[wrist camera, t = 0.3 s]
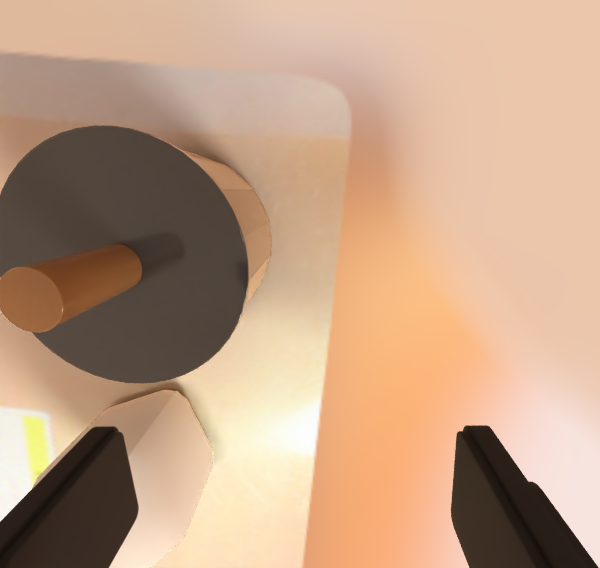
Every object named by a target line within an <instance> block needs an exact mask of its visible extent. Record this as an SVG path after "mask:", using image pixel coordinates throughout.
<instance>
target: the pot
mask: <svg viewBox="0 0 600 568" xmlns="http://www.w3.org/2000/svg"><path fill="white" fill-rule="evenodd" d="M182 151H184V150H182ZM184 152H186V153H187V154H188V155H190V156H191V157H192V158H193V159H195V160H196V161H197V162H198V163H200V164H201V165H202V166H203V167H204V168H205V169H206V170H207V171H208V172H209V173H210V174H211V175H212V176H213V177H214V178H215V179H216V181H217V182H218V183H219V185H220V186H221V187H222V189H223V190H224V191H225V193H226V194H227V196H228V197H229V199H230V201H231V203H232V204H233V206H234V208H235V210H236V212H237V214H238V216H239V219H240V221H241V223H242V226H243V229H244V232H245V236H246V239H247V243H248V249H249V255H250V270H251V279H250V287H249V295H248V298H247V302H246V304H247V303H248V301H249V300H250V298H251V297H252V295H253V294H254V292H255V291H256V290H257V288H258V287H259V285H260V284H261V282H262V279H263V276H264V274H265V271H266V269H267V266H268V262H269V259H270V256H271V231H270V225H269V219H268V217H267V214H266V212H265V209H264V207H263V204H262V203H261V201H260V199H259V197H258V196H257V194H256V192H255V191H254V189H253V188H252V187H251V186H250V185H249V184H248V183H247V182H246V181H245V180H244V179H243V178H242V177H241V176H240V175H238V174H237V173H236V172H235V171H233V170H232V169H231V168H230V167H229V166H227V165H224V164H222V163H219V162H216V161H214V160H211V159H208V158H206V157H203V156H200V155H198V154H194V153H191V152H187V151H184Z"/></svg>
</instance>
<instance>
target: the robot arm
mask: <svg viewBox="0 0 600 568" xmlns="http://www.w3.org/2000/svg"><path fill="white" fill-rule="evenodd" d="M138 510H139V506H138V501H137V496H136V491H135V487H134V482H133V477H132V473H131V468H130V463H129V459H128V454H127V449H126V445H125V440H124V436H123V434H122V432H119V431H118V429H117V428H116V427H114V426H96V427H93V428H91V429H90V430H89V431H88V432H87V433H86V434H85V435H84V436H83V437H82V438H81V439H80V440H79V441H78V442H77V444H76V445H75V446H74V447H73V448H72V449H71V450H70V451H69V452H68V453H67V454H66V455H65V456H64V457H63V458H62V459H61V460H60V461H59V462H58V463H57V464H56V465H55V466H54V467H53V468H52V469H51V470H50V471H49V472H48V473H47V474H46V475H45V476H44V477H43V478H42V480H41V481H40V482H39V483H38V484H37V485H36V486H35V487H34V488H33V489H32V490H31V491H30V492H29V493H28V494H27V495H26V496H25V497H24V498H23V499H22V500H21V501H20V502H19V503H18V504H17V505H16V506H15V507H14V508H13V509H12V510H11V511H10V512H9V513H8V515H7V516H6V517H5V518H4V519H3V520H2V521H1V522H0V568H109V567H110V565H111V563H112V562H113V560H114V558H115V556H116V554H117V553H118V551H119V549H120V547H121V546H122V544H123V542H124V540H125V539H126V537H127V535H128V533H129V532H130V530H131V528H132V526H133V524H134V523H135V521H136V519H137V515H138ZM451 517H452V522H453V526H454V529H455V531H456V534H457V537H458V539H459V542H460V544H461V547H462V549H463V552H464V555H465V557H466V560H467V562H468V565H469V568H598V566H597V565H596V564H595V562H594V561H593V560H592V558H591V557H590V555H589V554H588V553H587V551H586V550H585V548H584V547H583V546H582V544H581V543H580V542H579V540H578V539H577V538H576V536H575V535H574V533H573V532H572V531H571V529H570V528H569V526H568V525H567V524H566V522H565V521H564V520H563V519H562V517H561V515H560V514H559V513H558V511H557V510H556V509H555V507H554V506H553V504H552V503H551V502H550V500H549V499H548V498H547V496H546V495H545V494H544V492H543V491H542V489H540V487H539V486H538V485H537V484H535V483H534V482H528V481H527V479H526V478H525V476H524V475H523V474H522V472H521V471H520V469H519V468H518V467H517V465H516V464H515V462H514V461H513V459H512V458H511V456H510V455H509V454H508V452H507V451H506V449H505V448H504V446H503V445H502V444H501V442H500V441H499V439H498V438H497V436H496V435H495V434H494V432H493V431H492V429H491V428H490V427H489V426H465V427H464V429H463V431H459V432H458V433H457V438H456V451H455V464H454V478H453V491H452V504H451Z"/></svg>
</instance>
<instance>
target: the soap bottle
mask: <svg viewBox="0 0 600 568" xmlns="http://www.w3.org/2000/svg"><path fill="white" fill-rule="evenodd" d="M96 426H114V427H116V428H117V429H118V431H119V432H122V434H123V436H124V440H125V445H126V449H127V454H128V459H129V463H130V468H131V473H132V477H133V482H134V487H135V491H136V496H137V501H138V506H139V510H138V515H137V519H136V521H135V523H134V524H133V526H132V528H131V530H130V532H129V533H128V535H127V537H126V539H125V540H124V542H123V544H122V546H121V547H120V549H119V551H118V553H117V554H116V556H115V558H114V560H113V562H112V563H111V565H110V567H109V568H151V567H153V566H154V565H155V564H156V563H157V562H158V561H159V560H161V559H162V558H163V557H164V556H165V555H166V554H167V553H169V552H170V551H171V550H172V549H173V548H174V547H176V546H177V545H178V544H179V543H180V541H181V540H182V539H183V538H184V536H185V534H186V532H187V529H188V527H189V524H190V522H191V519H192V517H193V514H194V512H195V509H196V507H197V504H198V502H199V499H200V497H201V494H202V492H203V489H204V487H205V484H206V482H207V479H208V477H209V474H210V472H211V469H212V464H213V449H212V447H211V445H210V443H209V441H208V439H207V437H206V435H205V433H204V431H203V429H202V427H201V425H200V423H199V421H198V419H197V417H196V415H195V413H194V412H193V410H192V408H191V406H190V404H189V402H188V400H187V399H186V398H185V397H184V396H182V395H181V394H180V393H179V392H178V391H172V390H161V391H158V392H155V393H152V394H149V395H146V396H143V397H140V398H137V399H133V400H130V401H127V402H124V403H121V404H118V405H115V406H112V407H110V408H108V409H106V410H104V411H103V412H102V413H101V414H100V415H99V416H98V417H97V418H96V419H95V420H94V421H93V422H92V423H91V424H90V425H89V426H88V427H87V428H86V429H85V430H84V431H83V432H82V433H81V434H80V435H79V436H78V437H77V438H76V439H75V440H74V441H73V442H72V443H71V444H70V445H69V446H68V447H67V448H66V449H65V450H64V451H63V452H62V453H61V454H60V455H59V456H58V457H57V458H56V459H55V460H54V461H53V462H52V463H51V464H50V465H49V466H48V467H47V468H46V469H45V471H44V472H43V473H42V474H41V475H40V476H39V477H38V478H37V480H36V482H35V484H34V486H33V488H34V487H35V486H36V485H37V484H38V483H39V482H40V481H41V480H42V478H43V477H44V476H45V475H46V474H47V473H48V472H49V471H50V470H51V469H52V468H53V467H54V466H55V465H56V464H57V463H58V462H59V461H60V460H61V459H62V458H63V457H64V456H65V455H66V454H67V453H68V452H69V451H70V450H71V449H72V448H73V447H74V446H75V445H76V444H77V442H78V441H79V440H80V439H81V438H82V437H83V436H84V435H85V434H86V433H87V432H88V431H89V430H90V429H91V428H93V427H96Z"/></svg>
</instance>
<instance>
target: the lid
mask: <svg viewBox="0 0 600 568" xmlns="http://www.w3.org/2000/svg"><path fill="white" fill-rule="evenodd" d="M250 279H251V270H250V255H249V249H248V243H247V239H246V236H245V232H244V229H243V226H242V223H241V221H240V219H239V216H238V214H237V212H236V210H235V208H234V206H233V204H232V203H231V201H230V199H229V197H228V196H227V194H226V193H225V191H224V190H223V189H222V187H221V186H220V185H219V183H218V182H217V181H216V179H215V178H214V177H213V176H212V175H211V174H210V173H209V172H208V171H207V170H206V169H205V168H204V167H203V166H202V165H201V164H200V163H198V162H197V161H196V160H195V159H193V158H192V157H191V156H190V155H188V154H187V153H186V152H184V151H182V150H181V149H179V148H178V147H176V146H174V145H173V144H171V143H169V142H167V141H164V140H162V139H160V138H158V137H156V136H153V135H150V134H147V133H144V132H140V131H137V130H134V129H130V128H123V127H117V126H88V127H81V128H75V129H72V130H69V131H66V132H62V133H59V134H57V135H55V136H53V137H51V138H49V139H47V140H45V141H43V142H42V143H41V144H39V145H38V146H36V147H35V148H34V149H32V150H31V151H30V152H29V153H28V154H27V155H26V156H25V157H24V158H23V159H22V160H21V161H20V162H19V163H18V164H17V166H16V167H15V168H14V170H13V171H12V172H11V174H10V175H9V177H8V179H7V181H6V183H5V185H4V187H3V189H2V191H1V194H0V308H1V310H2V312H3V314H4V315H5V316H6V317H7V318H8V320H9V321H11V322H12V323H13V324H14V325H16V326H17V327H19V328H21V329H23V330H26V331H30V332H32V333H33V334H34V335H35V336H36V337H37V338H38V339H39V340H40V341H41V342H42V343H43V344H44V345H45V346H46V347H48V348H49V349H50V350H51V351H52V352H53V353H55V354H56V355H58V356H59V357H61V358H62V359H63V360H65V361H66V362H68V363H70V364H72V365H74V366H75V367H77V368H79V369H81V370H83V371H86V372H88V373H91V374H93V375H95V376H99V377H102V378H106V379H109V380H114V381H119V382H125V383H154V382H160V381H165V380H170V379H173V378H176V377H179V376H182V375H185V374H187V373H189V372H191V371H193V370H195V369H197V368H198V367H200V366H201V365H203V364H204V363H206V362H207V361H209V360H210V359H211V358H212V357H213V356H214V355H215V354H216V353H217V352H219V351H220V350H221V348H222V347H223V346H224V345H225V343H226V342H227V341H228V340H229V338H230V337H231V335H232V334H233V332H234V330H235V329H236V327H237V325H238V324H239V321H240V319H241V317H242V314H243V312H244V309H245V306H246V302H247V298H248V295H249V287H250Z"/></svg>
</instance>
